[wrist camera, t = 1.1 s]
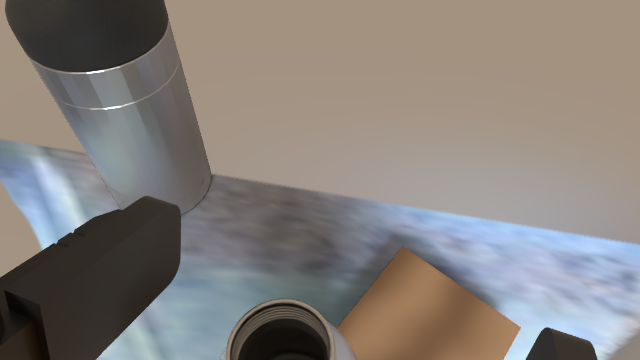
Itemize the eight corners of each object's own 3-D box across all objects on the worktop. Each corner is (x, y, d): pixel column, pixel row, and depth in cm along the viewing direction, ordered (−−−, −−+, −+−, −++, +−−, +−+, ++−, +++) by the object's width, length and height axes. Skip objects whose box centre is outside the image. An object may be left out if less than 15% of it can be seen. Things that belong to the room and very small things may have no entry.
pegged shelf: (321, 361, 34) (323, 344, 30) (394, 269, 38) (403, 246, 35) (434, 460, 30) (451, 454, 27) (499, 345, 35) (520, 327, 31)
